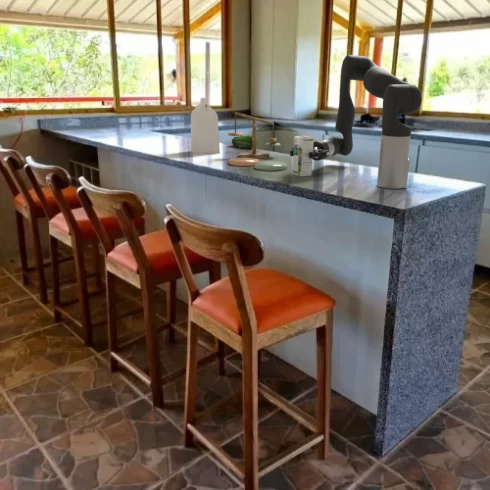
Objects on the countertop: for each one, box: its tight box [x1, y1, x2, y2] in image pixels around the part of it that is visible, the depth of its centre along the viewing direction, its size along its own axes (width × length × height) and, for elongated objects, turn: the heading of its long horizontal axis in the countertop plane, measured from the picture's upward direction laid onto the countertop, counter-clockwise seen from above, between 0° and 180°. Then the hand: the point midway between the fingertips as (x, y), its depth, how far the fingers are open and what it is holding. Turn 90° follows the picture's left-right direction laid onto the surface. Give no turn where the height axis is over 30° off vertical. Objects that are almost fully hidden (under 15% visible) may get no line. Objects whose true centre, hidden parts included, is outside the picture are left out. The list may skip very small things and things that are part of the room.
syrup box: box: [292, 135, 315, 177], centre depth 180 cm, size 6×6×14 cm
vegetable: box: [231, 134, 258, 150], centre depth 255 cm, size 7×7×20 cm
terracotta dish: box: [228, 157, 260, 167], centre depth 205 cm, size 13×13×2 cm
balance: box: [227, 111, 281, 159], centre depth 220 cm, size 24×7×20 cm, turn 91°
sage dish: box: [254, 161, 288, 172], centre depth 196 cm, size 13×13×2 cm
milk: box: [190, 97, 221, 155], centre depth 233 cm, size 12×12×26 cm
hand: (300, 154), depth 178 cm, fingers closed on syrup box, 7 cm apart
